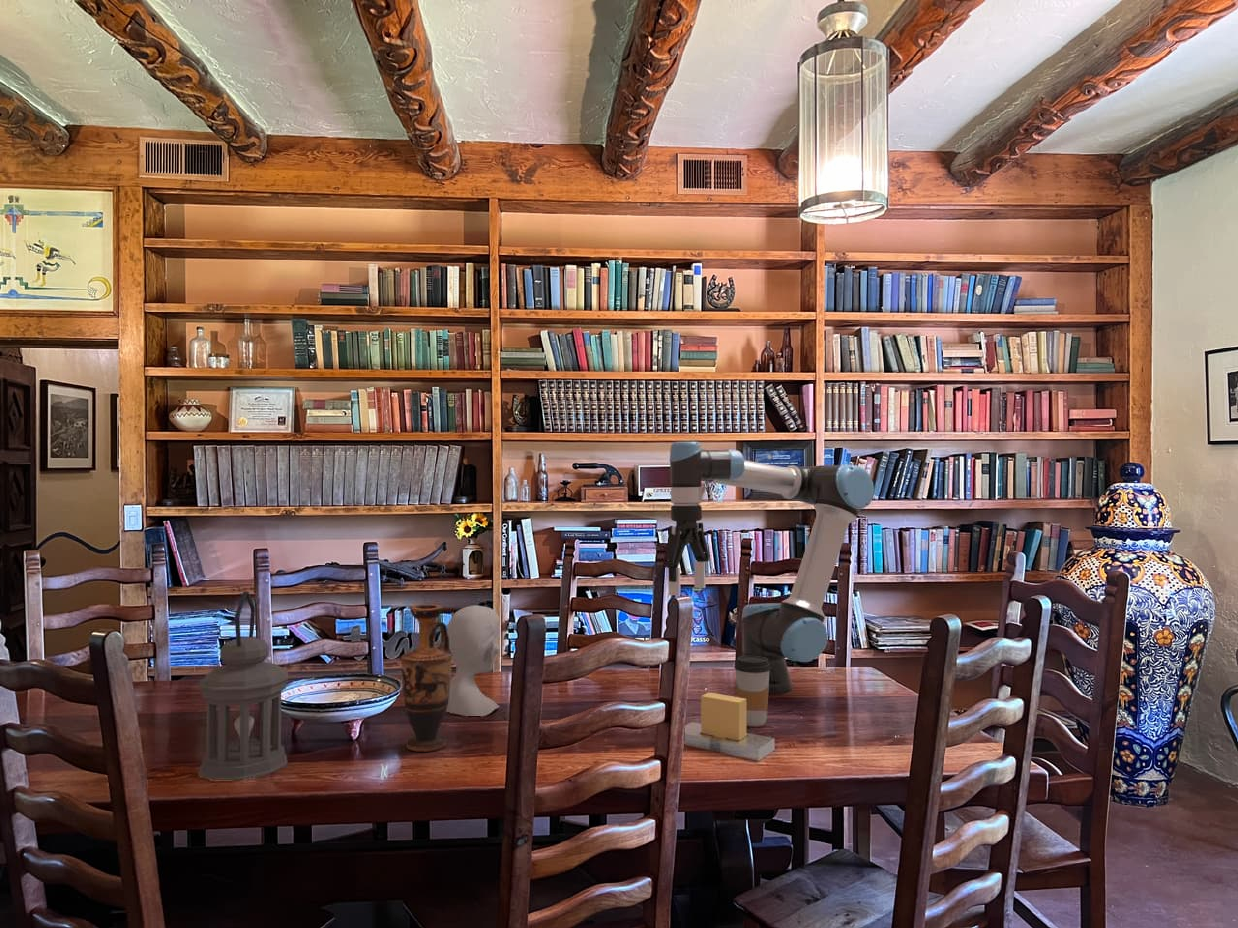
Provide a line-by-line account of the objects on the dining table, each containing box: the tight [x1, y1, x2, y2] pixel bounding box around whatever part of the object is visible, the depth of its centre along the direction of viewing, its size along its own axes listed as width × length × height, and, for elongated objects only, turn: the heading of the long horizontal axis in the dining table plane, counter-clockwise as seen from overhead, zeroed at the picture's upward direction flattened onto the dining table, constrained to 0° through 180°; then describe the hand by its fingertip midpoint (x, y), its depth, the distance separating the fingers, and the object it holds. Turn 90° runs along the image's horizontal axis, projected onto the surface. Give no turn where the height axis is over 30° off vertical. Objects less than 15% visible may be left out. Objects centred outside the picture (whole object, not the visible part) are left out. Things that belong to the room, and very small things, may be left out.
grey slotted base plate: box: [684, 721, 775, 762], centre depth 172 cm, size 20×8×2 cm, turn 56°
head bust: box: [446, 604, 501, 717], centre depth 205 cm, size 22×19×25 cm
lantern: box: [197, 590, 290, 780], centre depth 161 cm, size 17×17×35 cm
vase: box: [400, 603, 453, 753], centre depth 173 cm, size 11×11×30 cm
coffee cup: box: [734, 655, 770, 727], centre depth 189 cm, size 8×8×15 cm
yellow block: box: [700, 692, 747, 742], centre depth 172 cm, size 9×4×10 cm, turn 56°
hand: (687, 591), depth 196 cm, fingers open, 13 cm apart
